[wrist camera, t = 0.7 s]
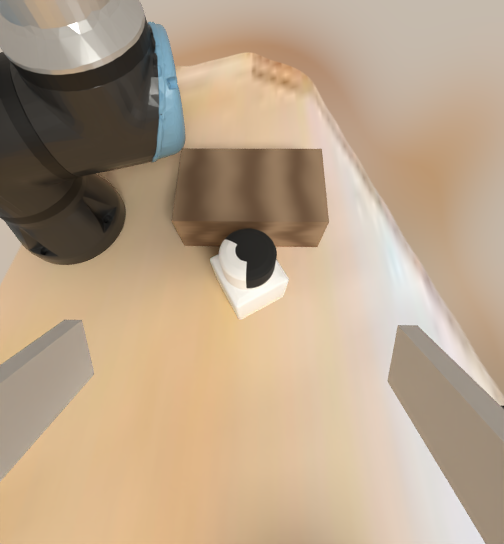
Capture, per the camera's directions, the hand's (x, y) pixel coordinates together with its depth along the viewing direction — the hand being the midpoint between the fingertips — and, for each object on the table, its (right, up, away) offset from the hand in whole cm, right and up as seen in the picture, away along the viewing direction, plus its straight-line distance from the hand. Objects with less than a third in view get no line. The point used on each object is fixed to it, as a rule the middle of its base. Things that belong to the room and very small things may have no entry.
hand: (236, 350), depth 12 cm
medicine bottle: (0, +1, +28) cm, 28 cm away
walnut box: (+1, +13, +32) cm, 34 cm away
